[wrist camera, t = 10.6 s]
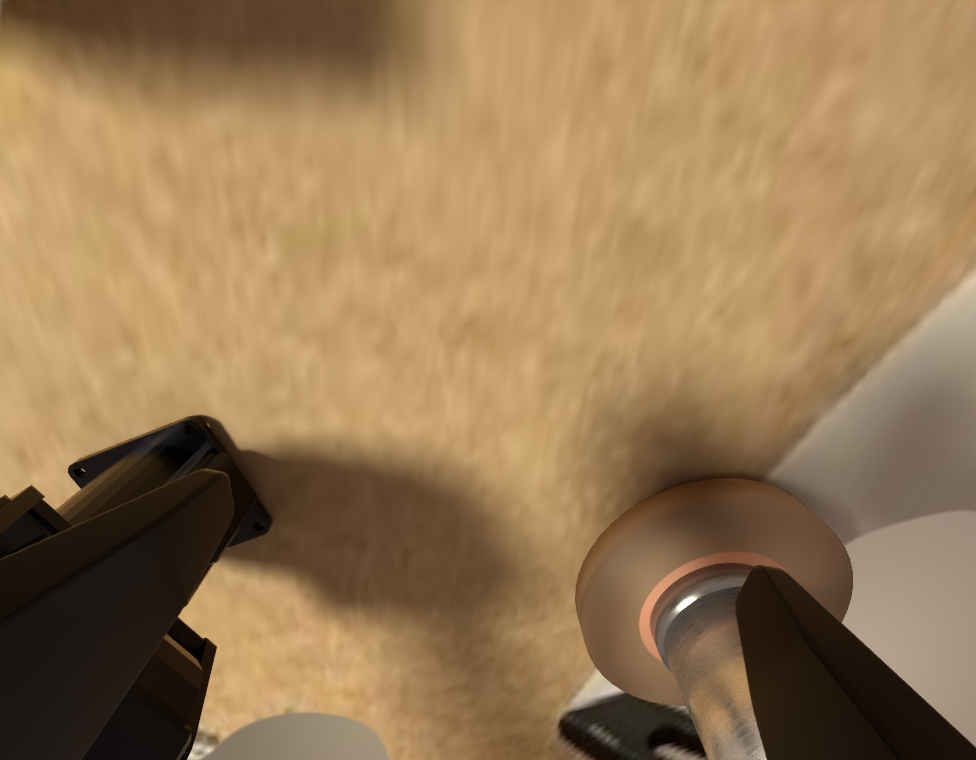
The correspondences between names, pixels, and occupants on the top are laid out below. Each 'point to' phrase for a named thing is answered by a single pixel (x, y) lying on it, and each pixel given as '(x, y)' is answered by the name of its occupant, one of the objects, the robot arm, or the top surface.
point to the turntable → (695, 567)
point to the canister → (709, 658)
